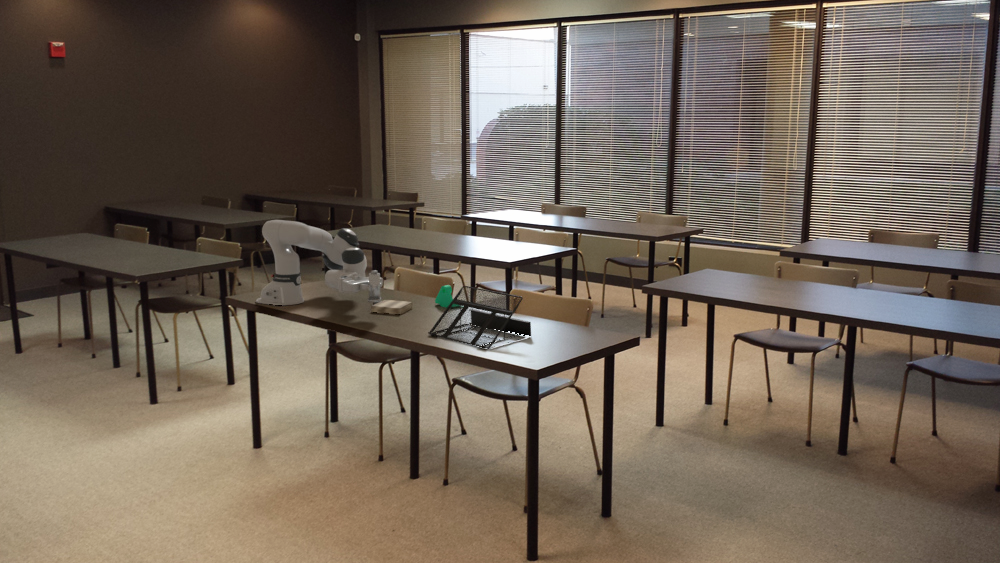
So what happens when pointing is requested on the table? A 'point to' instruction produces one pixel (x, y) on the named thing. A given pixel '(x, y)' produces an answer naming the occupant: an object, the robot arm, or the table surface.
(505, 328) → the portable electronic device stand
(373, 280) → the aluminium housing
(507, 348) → the table surface
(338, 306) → the table surface
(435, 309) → the table surface
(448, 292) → the green toy figure
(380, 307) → the wooden stand
